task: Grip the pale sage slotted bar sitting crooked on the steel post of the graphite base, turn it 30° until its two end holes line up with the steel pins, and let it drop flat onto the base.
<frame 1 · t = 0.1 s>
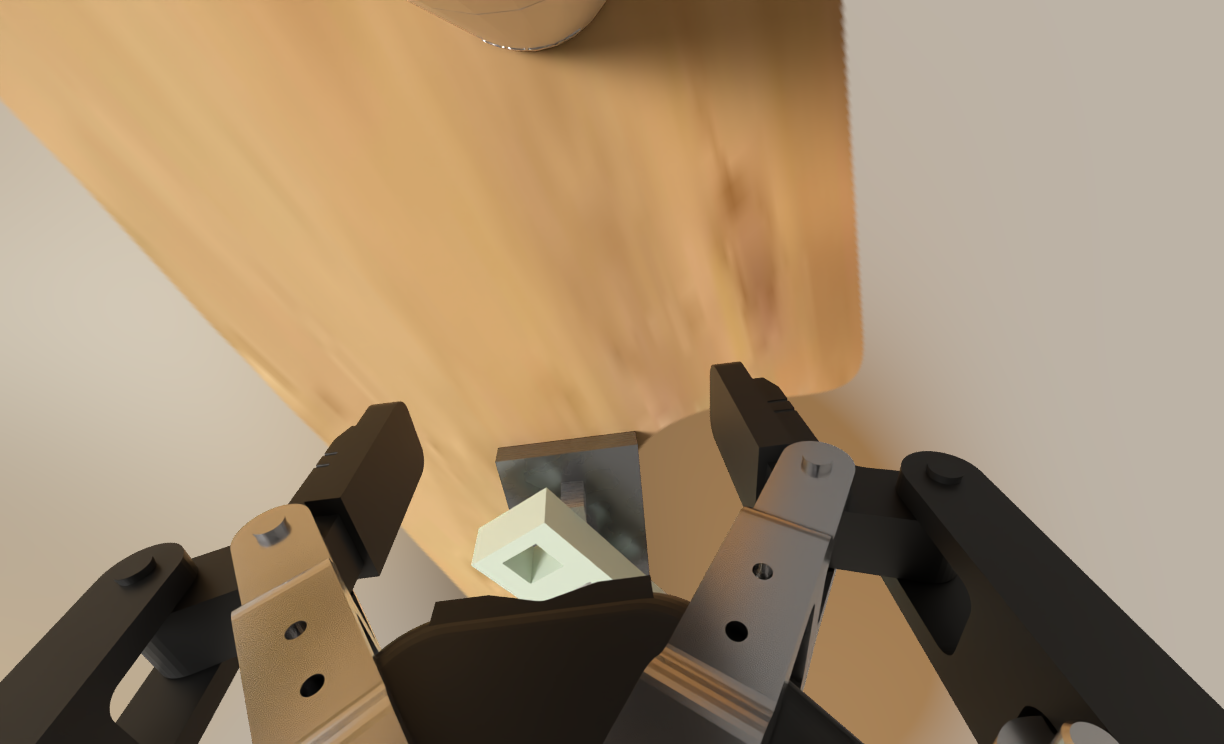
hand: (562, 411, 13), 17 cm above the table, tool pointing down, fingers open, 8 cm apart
flange bar: (583, 566, 36), point 4 cm above the table, touching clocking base
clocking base: (582, 525, 40), on the table
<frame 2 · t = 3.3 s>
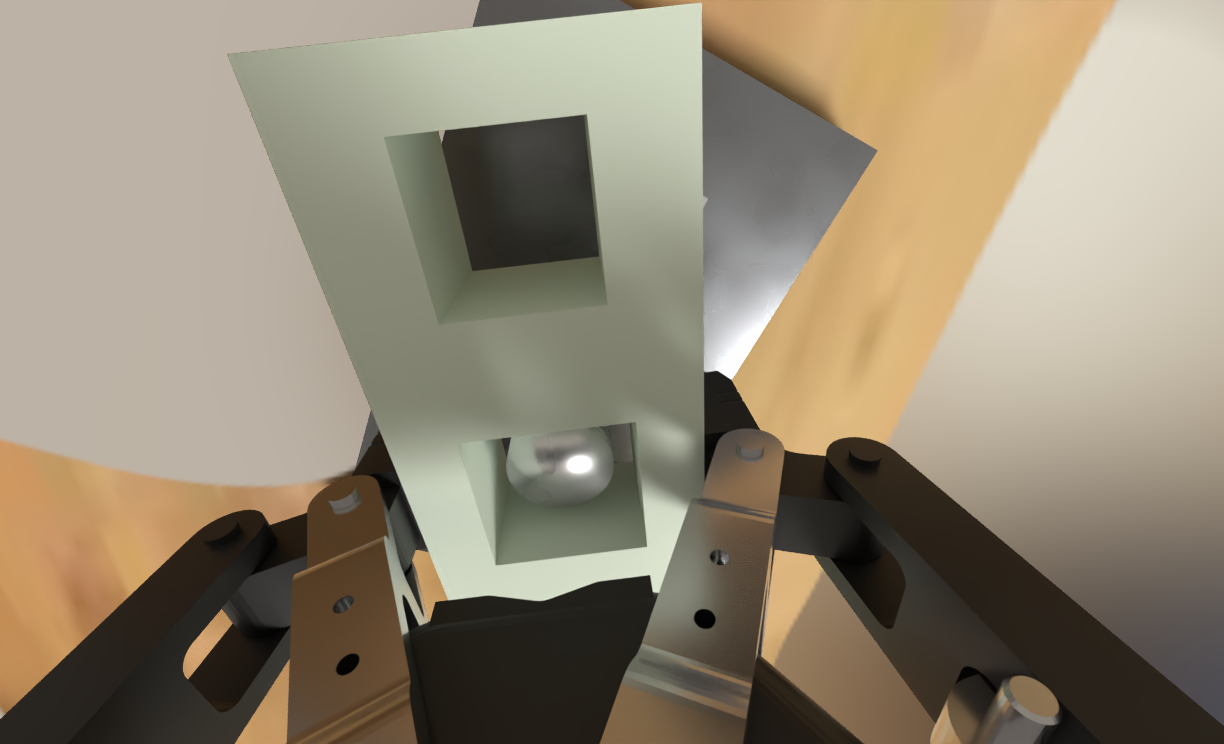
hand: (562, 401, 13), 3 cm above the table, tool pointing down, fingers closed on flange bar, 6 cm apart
flange bar: (563, 417, 13), point 4 cm above the table, touching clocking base, gripper
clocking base: (564, 350, 16), on the table
when the fingers open (2 cm above the table, at t = 6.6 s): flange bar drops 2 cm, resting on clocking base.
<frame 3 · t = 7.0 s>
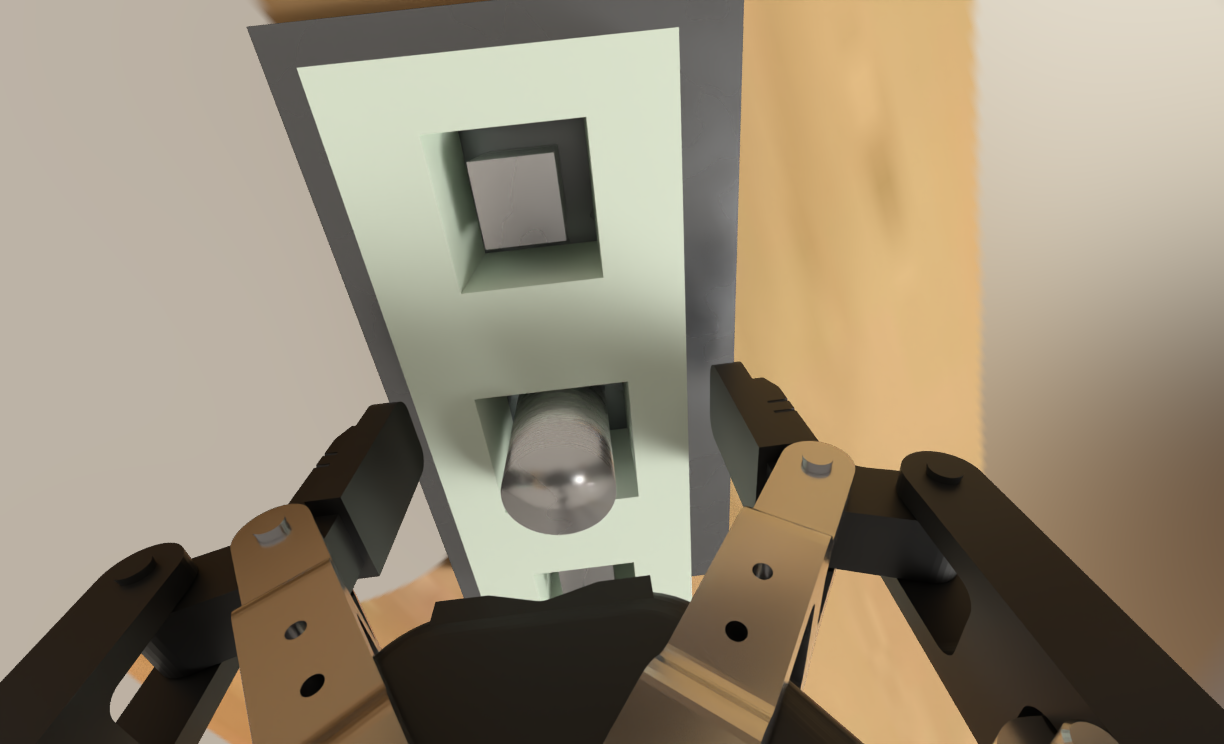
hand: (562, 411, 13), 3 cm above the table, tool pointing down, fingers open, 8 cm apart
flange bar: (564, 387, 14), point 1 cm above the table, touching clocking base
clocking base: (563, 361, 15), on the table
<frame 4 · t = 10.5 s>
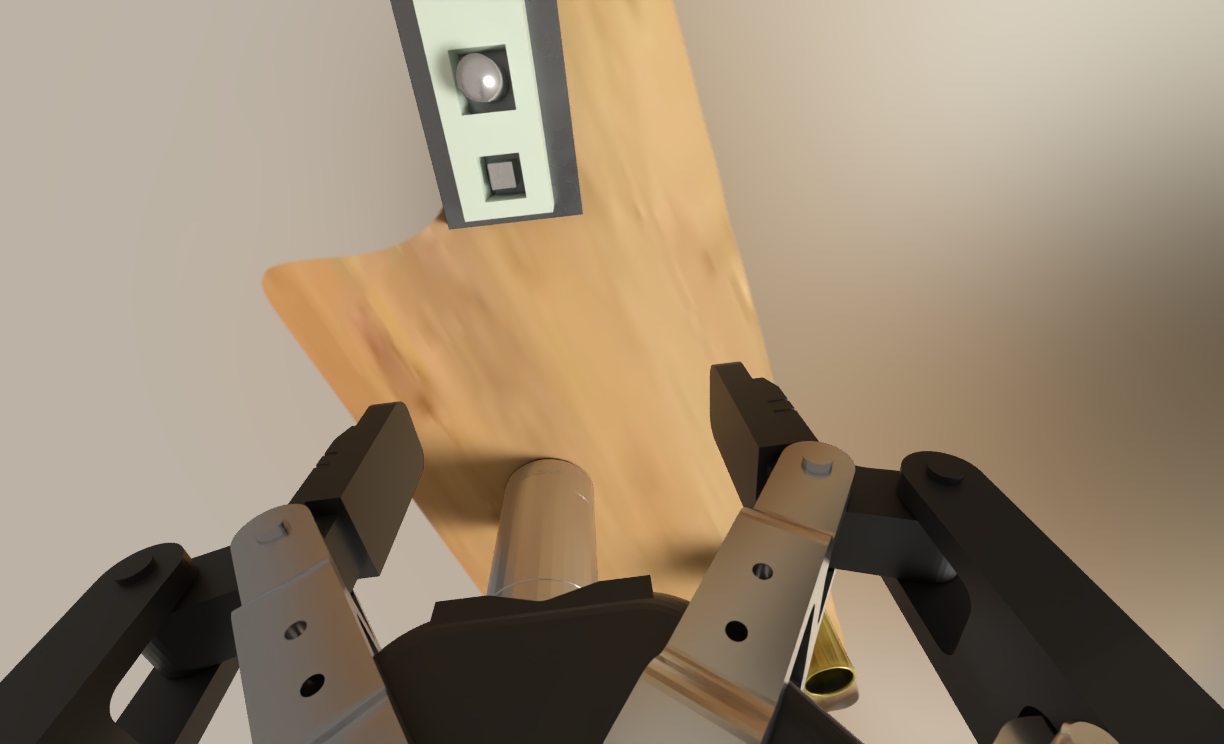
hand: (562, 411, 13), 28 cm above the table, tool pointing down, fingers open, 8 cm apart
flange bar: (490, 83, 32), point 1 cm above the table, touching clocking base
vase: (774, 558, 59), on the table
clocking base: (492, 82, 33), on the table
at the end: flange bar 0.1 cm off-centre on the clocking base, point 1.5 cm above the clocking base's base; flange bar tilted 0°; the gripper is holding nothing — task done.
